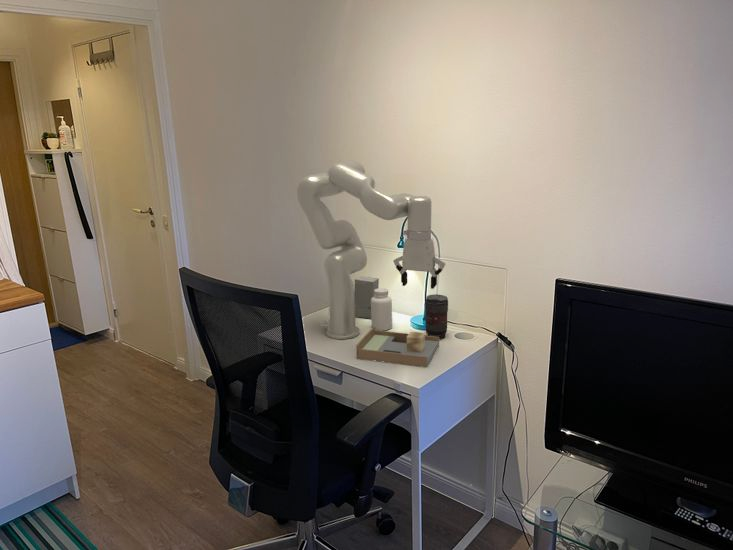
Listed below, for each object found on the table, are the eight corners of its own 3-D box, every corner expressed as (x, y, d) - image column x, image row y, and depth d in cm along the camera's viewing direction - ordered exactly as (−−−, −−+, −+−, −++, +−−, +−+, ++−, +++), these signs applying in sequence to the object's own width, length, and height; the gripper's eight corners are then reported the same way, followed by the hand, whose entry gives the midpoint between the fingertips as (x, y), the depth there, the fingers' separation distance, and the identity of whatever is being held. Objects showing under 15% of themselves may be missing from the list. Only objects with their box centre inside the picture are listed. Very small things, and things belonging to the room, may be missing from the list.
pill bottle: (382, 322, 221) (381, 285, 217) (396, 327, 215) (396, 289, 211) (367, 327, 216) (366, 290, 212) (381, 332, 210) (380, 294, 206)
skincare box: (353, 317, 228) (352, 279, 223) (360, 311, 234) (359, 275, 230) (373, 319, 224) (372, 281, 220) (379, 314, 231) (379, 276, 226)
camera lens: (446, 340, 201) (447, 301, 197) (424, 339, 203) (424, 300, 199) (448, 332, 209) (448, 294, 205) (426, 331, 210) (426, 293, 206)
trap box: (356, 358, 188) (356, 344, 187) (374, 339, 205) (373, 326, 203) (426, 367, 180) (426, 352, 179) (439, 346, 197) (439, 332, 195)
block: (406, 350, 189) (406, 336, 187) (410, 345, 193) (410, 331, 192) (421, 352, 187) (421, 338, 186) (424, 346, 191) (424, 333, 190)
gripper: (389, 235, 180) (390, 287, 185) (442, 239, 174) (441, 292, 179) (397, 231, 187) (397, 280, 192) (448, 234, 181) (447, 285, 185)
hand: (418, 286), depth 185 cm, fingers open, 9 cm apart
